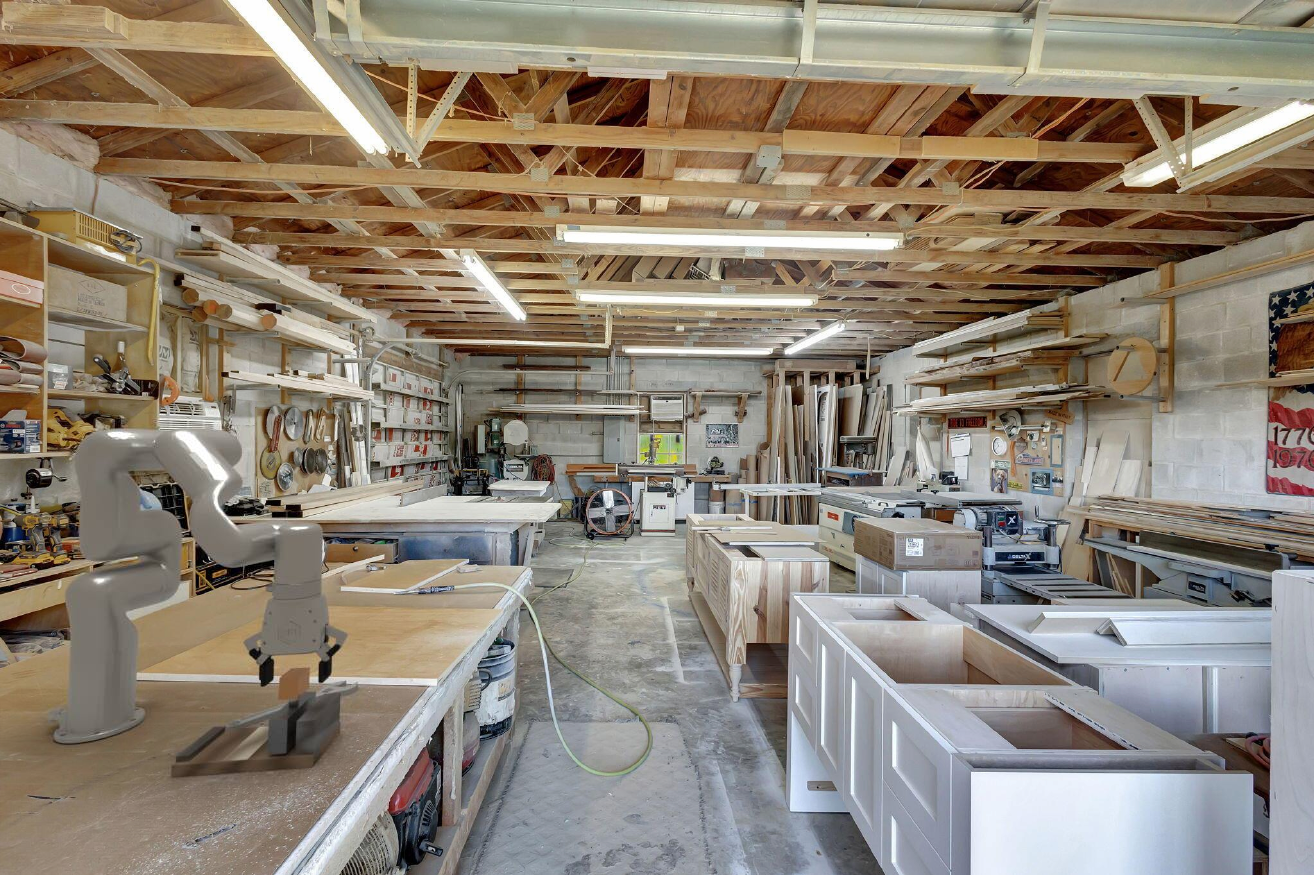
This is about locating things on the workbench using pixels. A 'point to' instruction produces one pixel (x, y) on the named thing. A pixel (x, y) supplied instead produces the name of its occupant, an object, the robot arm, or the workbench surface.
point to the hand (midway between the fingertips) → (295, 681)
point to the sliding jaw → (289, 709)
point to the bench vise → (262, 745)
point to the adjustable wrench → (269, 713)
